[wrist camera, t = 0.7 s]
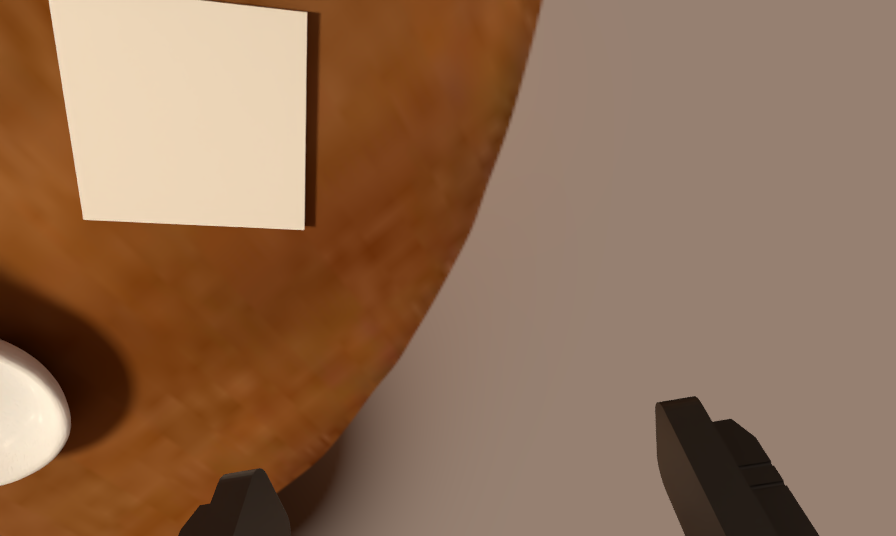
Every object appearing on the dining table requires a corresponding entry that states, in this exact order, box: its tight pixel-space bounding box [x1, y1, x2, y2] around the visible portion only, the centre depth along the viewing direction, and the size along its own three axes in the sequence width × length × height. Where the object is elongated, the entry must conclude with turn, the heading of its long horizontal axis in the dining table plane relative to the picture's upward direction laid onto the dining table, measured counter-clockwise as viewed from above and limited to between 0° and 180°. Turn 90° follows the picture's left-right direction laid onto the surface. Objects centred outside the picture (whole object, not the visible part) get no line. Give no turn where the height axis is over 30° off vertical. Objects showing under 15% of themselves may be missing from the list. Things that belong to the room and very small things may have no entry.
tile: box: [49, 0, 308, 230], centre depth 32 cm, size 12×12×1 cm
